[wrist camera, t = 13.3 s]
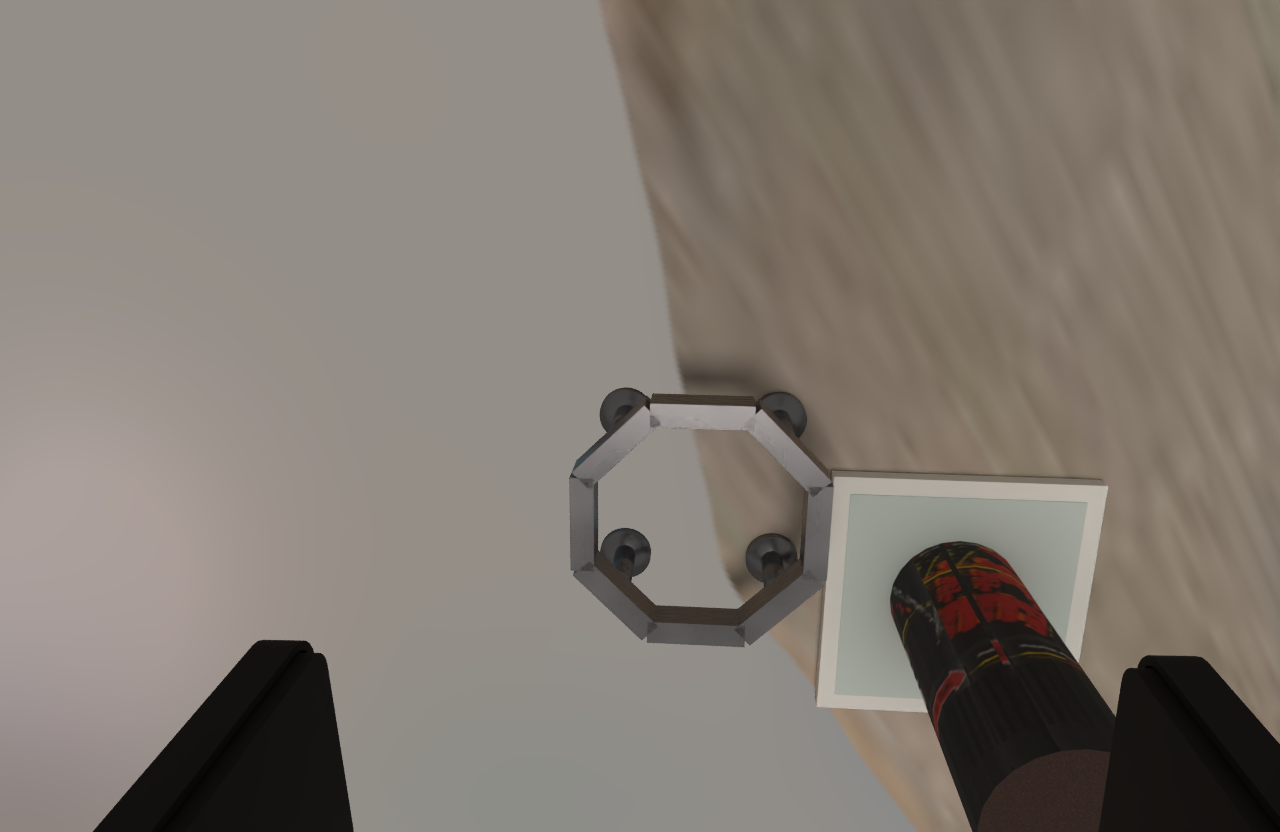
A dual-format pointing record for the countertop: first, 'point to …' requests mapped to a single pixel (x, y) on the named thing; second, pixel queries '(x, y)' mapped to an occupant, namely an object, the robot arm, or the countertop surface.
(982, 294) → the countertop surface
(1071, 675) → the deodorant
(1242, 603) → the countertop surface
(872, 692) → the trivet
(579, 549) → the ring stand
